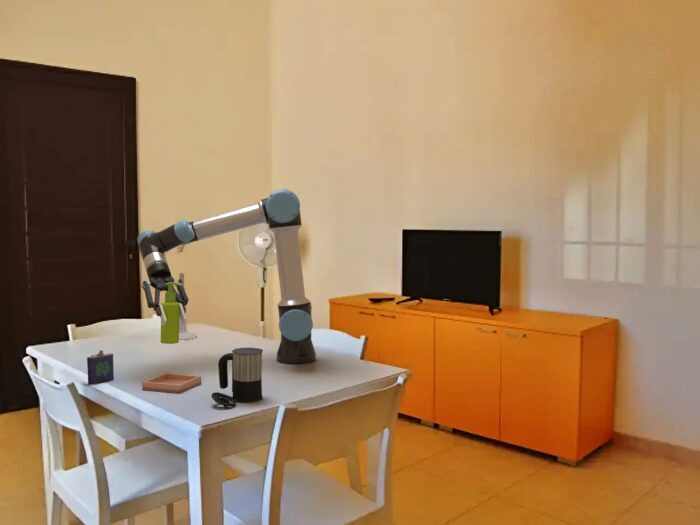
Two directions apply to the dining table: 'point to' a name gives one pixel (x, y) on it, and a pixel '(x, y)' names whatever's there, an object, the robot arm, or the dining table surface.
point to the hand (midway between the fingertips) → (174, 321)
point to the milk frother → (241, 376)
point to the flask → (100, 368)
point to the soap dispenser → (170, 316)
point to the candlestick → (182, 327)
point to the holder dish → (171, 383)
